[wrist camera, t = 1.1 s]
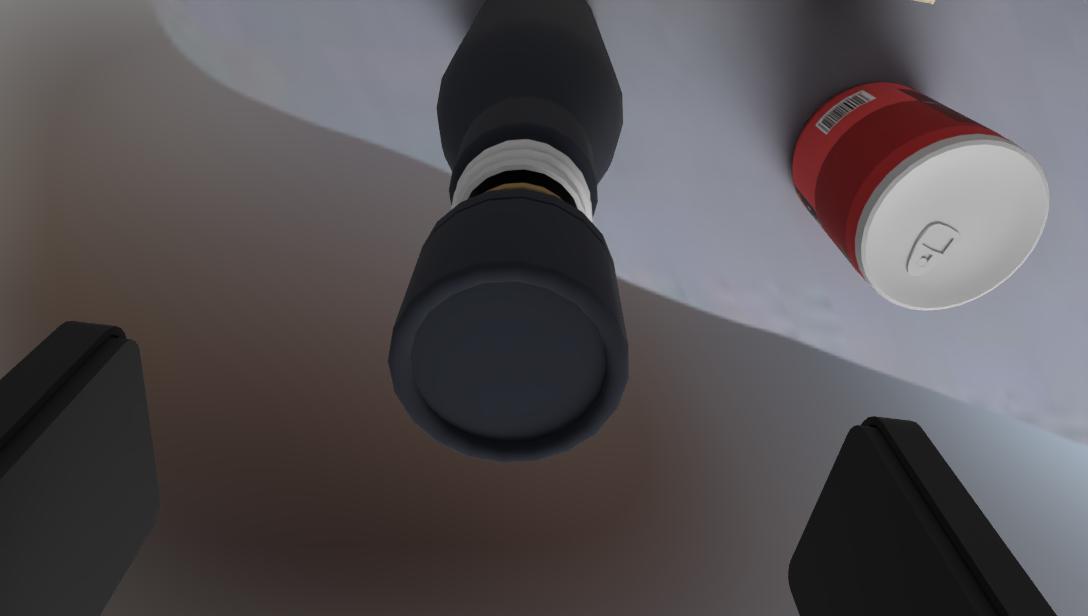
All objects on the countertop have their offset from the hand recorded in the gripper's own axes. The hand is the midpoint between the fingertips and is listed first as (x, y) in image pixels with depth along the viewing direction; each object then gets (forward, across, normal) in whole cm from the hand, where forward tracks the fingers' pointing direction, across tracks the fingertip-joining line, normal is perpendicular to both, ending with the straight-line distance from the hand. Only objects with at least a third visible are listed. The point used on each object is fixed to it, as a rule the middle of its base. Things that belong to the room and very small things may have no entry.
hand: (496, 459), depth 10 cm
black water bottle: (+32, -1, 0) cm, 32 cm away
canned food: (+32, -19, +3) cm, 37 cm away
